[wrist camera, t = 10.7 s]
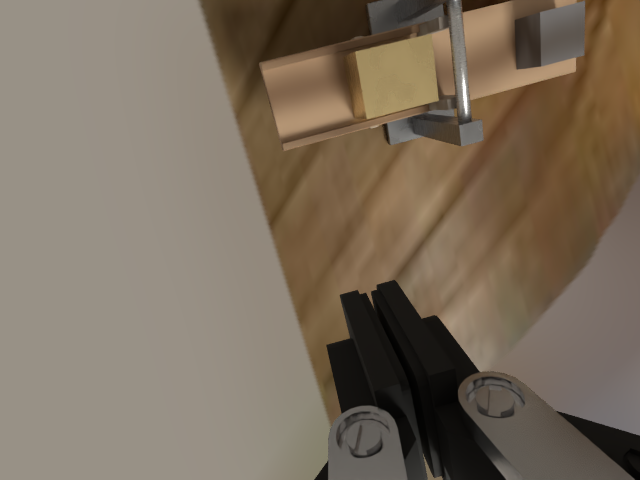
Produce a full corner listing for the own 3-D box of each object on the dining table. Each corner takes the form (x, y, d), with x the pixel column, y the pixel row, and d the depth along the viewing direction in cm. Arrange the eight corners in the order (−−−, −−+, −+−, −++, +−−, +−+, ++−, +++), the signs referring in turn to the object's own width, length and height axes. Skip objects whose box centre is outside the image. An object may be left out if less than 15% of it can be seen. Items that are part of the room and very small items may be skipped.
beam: (258, 62, 31) (262, 54, 27) (565, -13, 34) (617, -32, 30) (282, 150, 34) (289, 157, 29) (565, 73, 37) (612, 69, 32)
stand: (365, 5, 36) (405, -33, 25) (437, -13, 36) (506, -58, 26) (388, 144, 41) (430, 161, 30) (452, 127, 41) (515, 138, 30)
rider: (342, 57, 31) (355, 51, 28) (411, 40, 32) (431, 33, 29) (354, 117, 33) (366, 119, 30) (419, 101, 34) (438, 100, 30)
